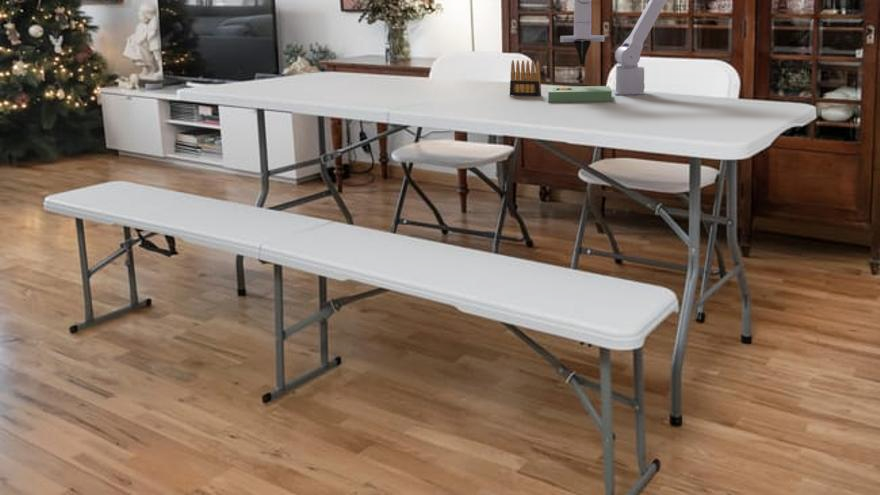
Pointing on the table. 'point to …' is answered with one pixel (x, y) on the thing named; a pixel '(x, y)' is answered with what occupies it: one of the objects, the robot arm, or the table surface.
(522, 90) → the ammunition clip
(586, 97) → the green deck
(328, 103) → the table surface
